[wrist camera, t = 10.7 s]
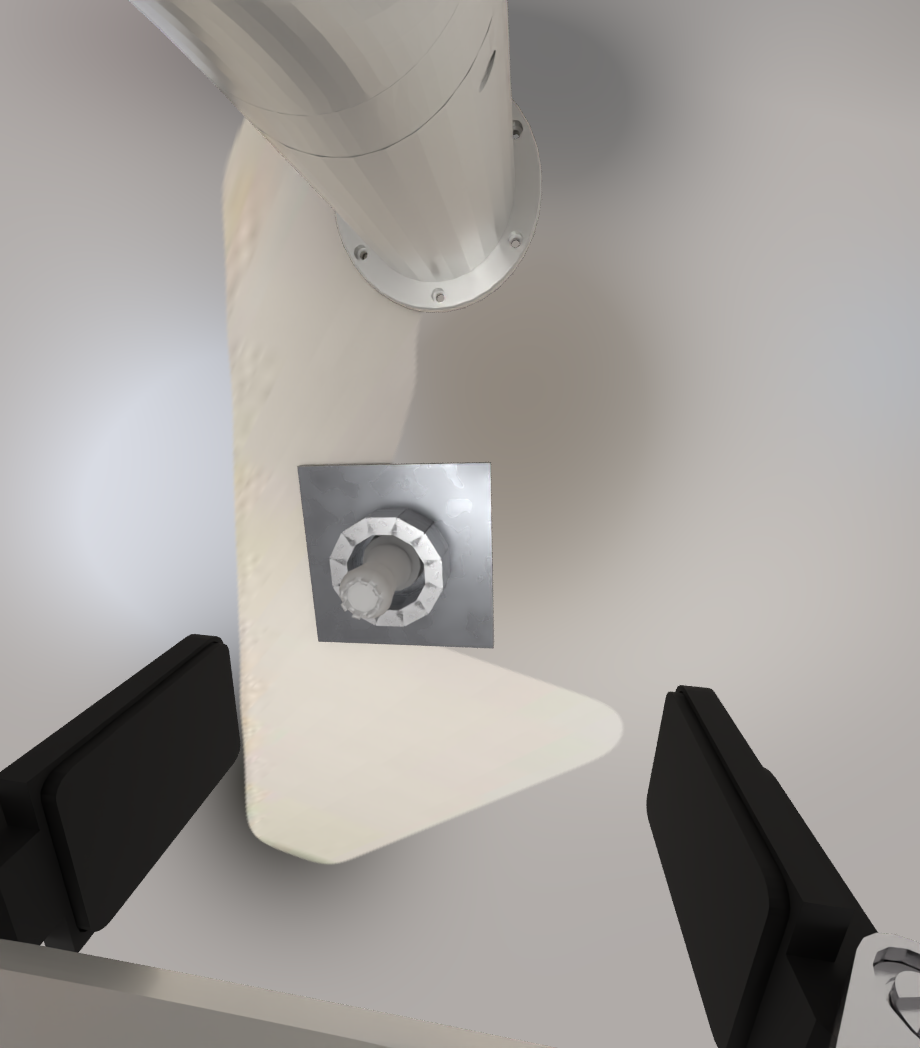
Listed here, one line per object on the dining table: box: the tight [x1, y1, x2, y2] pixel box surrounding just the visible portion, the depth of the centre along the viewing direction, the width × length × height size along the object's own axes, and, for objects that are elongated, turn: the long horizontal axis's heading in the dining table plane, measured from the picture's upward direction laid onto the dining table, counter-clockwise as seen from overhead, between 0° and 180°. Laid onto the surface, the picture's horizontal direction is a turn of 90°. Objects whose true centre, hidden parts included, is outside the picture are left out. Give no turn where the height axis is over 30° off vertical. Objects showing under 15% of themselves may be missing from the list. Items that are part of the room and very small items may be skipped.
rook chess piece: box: [339, 535, 424, 620], centre depth 30 cm, size 4×4×8 cm
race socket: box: [297, 462, 494, 648], centre depth 32 cm, size 14×14×4 cm
